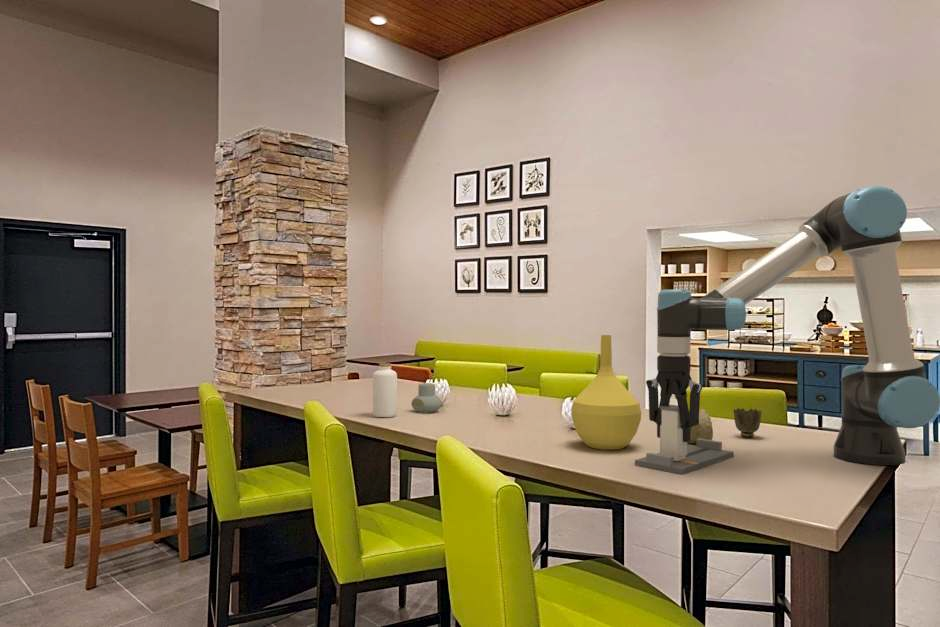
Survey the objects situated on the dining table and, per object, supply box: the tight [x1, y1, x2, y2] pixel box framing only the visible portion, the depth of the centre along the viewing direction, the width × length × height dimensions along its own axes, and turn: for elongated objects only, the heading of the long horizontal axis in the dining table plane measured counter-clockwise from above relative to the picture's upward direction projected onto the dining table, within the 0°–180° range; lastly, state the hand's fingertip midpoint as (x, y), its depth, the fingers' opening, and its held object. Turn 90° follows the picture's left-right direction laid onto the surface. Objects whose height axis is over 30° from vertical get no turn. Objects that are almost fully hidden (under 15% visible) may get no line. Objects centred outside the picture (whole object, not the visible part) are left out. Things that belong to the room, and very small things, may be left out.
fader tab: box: [660, 403, 685, 461], centre depth 153 cm, size 4×4×12 cm
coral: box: [687, 408, 714, 445], centre depth 179 cm, size 10×10×10 cm
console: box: [634, 438, 734, 475], centre depth 157 cm, size 26×12×3 cm, turn 134°
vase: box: [570, 334, 642, 451], centre depth 174 cm, size 18×18×30 cm
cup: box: [733, 407, 763, 439], centre depth 186 cm, size 8×7×8 cm
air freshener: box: [411, 382, 443, 413], centre depth 232 cm, size 11×8×10 cm
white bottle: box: [372, 362, 398, 418], centre depth 222 cm, size 8×8×18 cm
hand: (673, 453), depth 153 cm, fingers closed on fader tab, 4 cm apart
